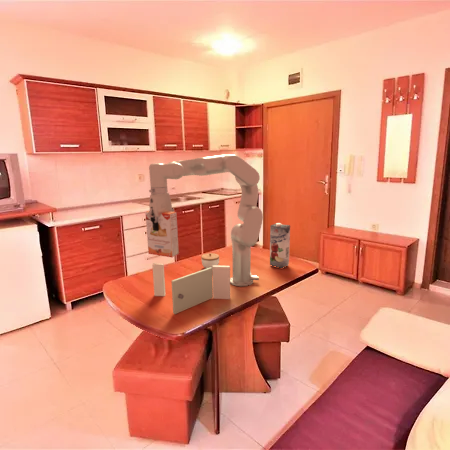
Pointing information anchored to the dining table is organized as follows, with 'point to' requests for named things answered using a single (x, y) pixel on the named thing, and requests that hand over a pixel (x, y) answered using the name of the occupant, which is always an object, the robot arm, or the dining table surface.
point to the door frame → (219, 281)
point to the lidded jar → (210, 260)
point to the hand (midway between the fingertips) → (161, 228)
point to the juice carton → (279, 245)
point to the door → (192, 290)
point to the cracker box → (163, 235)
